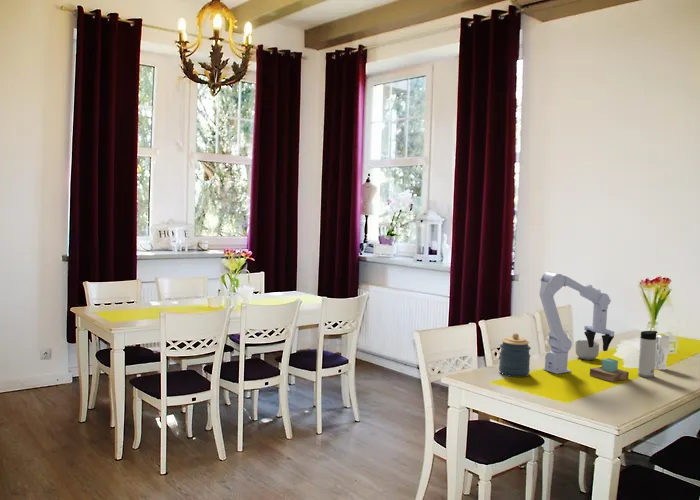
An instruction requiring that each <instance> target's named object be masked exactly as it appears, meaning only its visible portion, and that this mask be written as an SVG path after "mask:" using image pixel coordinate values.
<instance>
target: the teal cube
mask: <svg viewBox="0 0 700 500" xmlns="http://www.w3.org/2000/svg"><path fill="white" fill-rule="evenodd" d="M618 365H619V361H618V360H616V359H613V358H602V359H601V367H602V370H605V371H608V372H614V371H617V369H619V368H618V367H619V366H618Z"/></svg>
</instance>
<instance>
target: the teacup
mask: <svg viewBox="0 0 700 500" xmlns="http://www.w3.org/2000/svg"><path fill="white" fill-rule="evenodd" d="M599 348H600V342H598V341H595V340H594V345H593V347H589V345H588V340H587V339H586V340H585V339H577V340H576V341H575V355H576V356H577V357H578V358H579V359H580V360H585V361H592V360H595V359H596V358H597V357H598V356H599V354H600V353H599V352H600V349H599Z"/></svg>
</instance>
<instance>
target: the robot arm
mask: <svg viewBox="0 0 700 500" xmlns="http://www.w3.org/2000/svg"><path fill="white" fill-rule="evenodd" d="M539 280H540V289H539V298H540V300H541V304H542V308H543V312H544V314H545V318H546V322H547V326H548V328H549V332H548V334H547V335H548V345H549V346H550V351H549V352H547V353H546V354H545V356H544V358H545V359H544V361H545V362H544V368H543V371H547V372H550V373H553V374H557V375H558V374H564V373H570V372H572V369H569V368H568V362H569V361H568V360H569V351H570V350H571V349H572V345H573V344H572V341H571V339H570V338H569V337H568V334H567V333H566V331H564V329H563V325H562V322H561V319H560V316H559V312H558V309H557V304H556V302H555V297H554V296H555V294H557V292H558V291H560V290H561V289H562V288H563V287H568V288H571V289H573V290H575V291H577V292H578V293H579V296H581V297H583V299H587V300H589V301H590V302H592V304H593V313H592V314H593V315H592V326H591V325H584V329H583V330H584V335H585V338H586V340H588V345H589V347H593V345H594V341H595V337H596V334H602V335H601V340H602V351H603V352H608V350H609V346H610V345H611V342H612V341H613V339H614V337H615V331H612V330H611V329H608V328H607V318H608V308H609V305H610V304H611V301H612V300H611V299H610V298H611V297H610V295H609V294H607V293H605V292H602V291H601V289H596V288H595V287H594V286H593V285H592V284H590V283H589V284H581V283H579V282H578V281H576V280H574V279H572V278H571V277H569V276H566V275H563V274H561V273H555V272H552V271H546V272H544V273H543V275H542V276H541V277H540V279H539Z"/></svg>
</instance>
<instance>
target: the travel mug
mask: <svg viewBox="0 0 700 500" xmlns="http://www.w3.org/2000/svg"><path fill="white" fill-rule="evenodd" d="M657 334H658V331H657V330H643V331H641V332H640V337H639V338H640V339H639V351H638V352H639V355H638V372H637V376H639V377H641V378H645V379H652V378H654V377H655V369H654V366H655V351H656V335H657Z"/></svg>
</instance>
